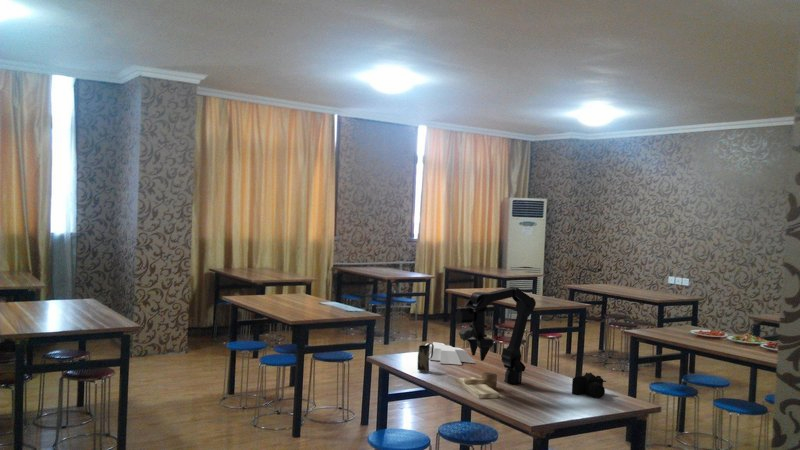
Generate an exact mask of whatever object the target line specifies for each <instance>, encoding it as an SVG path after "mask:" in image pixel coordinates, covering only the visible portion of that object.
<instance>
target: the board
mask: <svg viewBox="0 0 800 450" xmlns="http://www.w3.org/2000/svg"><path fill="white" fill-rule="evenodd" d="M464 379H477V378H476V377H475V376H471V377H468V376H467V377H455V379H454V383H455V384H457V385H458V386H460V388H462V389H464V390H465V391H467V393H469V394H471V395H472V396H473V397H476V398H477V399H479V400H480V399H497V398H500V393H499V392H498V391H496V390H495V389H492V388H490V387H489V386H487V385H485V384H484V383H465V382H464Z"/></svg>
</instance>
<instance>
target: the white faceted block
mask: <svg viewBox="0 0 800 450" xmlns="http://www.w3.org/2000/svg"><path fill="white" fill-rule="evenodd" d="M428 344H430V343H427V342H426V343H425V345H428ZM432 344H433V345H434V349H433V356H432V358H430V357H431V352H432ZM429 358H430V359H429V361H438V362H439V364H446V365H447V364H448V365H459V366H460V365H463V364H462V363H463V362H464V363H470V364H476V361H475V360H474V359H473V358H472V356H470V354H469V353H468V352H467V351H466V350H465V349H463V348H461V347H456V346H455V347H453V346H452V345H448V344H447V345H446V344H445V343H442V342H437V341H433V342H432V343H431V344H430V349H429Z"/></svg>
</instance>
